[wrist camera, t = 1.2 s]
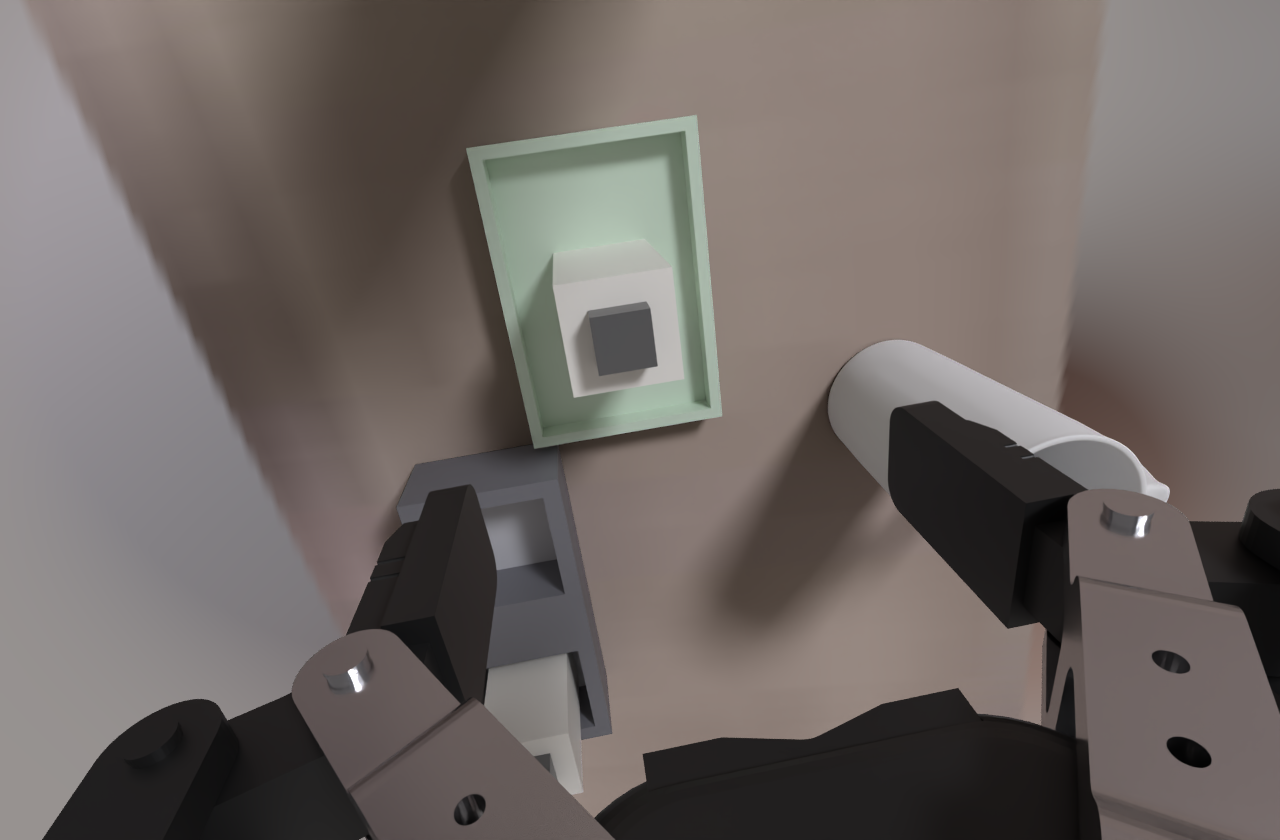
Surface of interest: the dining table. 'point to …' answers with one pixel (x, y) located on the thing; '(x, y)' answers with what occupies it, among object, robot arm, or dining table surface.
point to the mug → (970, 416)
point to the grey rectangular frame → (529, 563)
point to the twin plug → (542, 712)
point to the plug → (617, 317)
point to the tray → (587, 217)
